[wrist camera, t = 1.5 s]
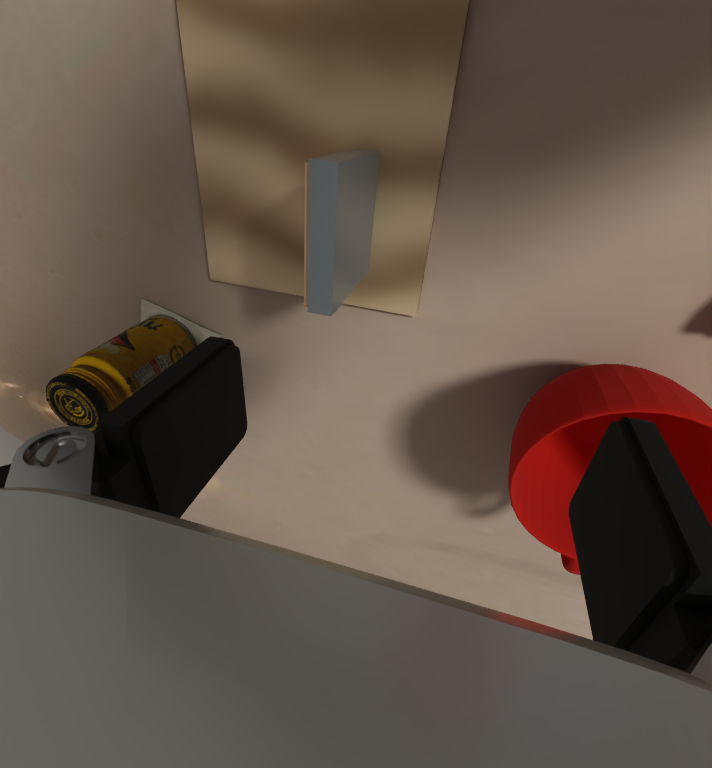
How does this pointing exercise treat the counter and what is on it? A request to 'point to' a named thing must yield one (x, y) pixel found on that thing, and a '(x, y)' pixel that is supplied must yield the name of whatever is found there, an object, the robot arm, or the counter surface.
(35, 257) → the counter surface
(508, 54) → the counter surface
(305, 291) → the slate tile
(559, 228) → the counter surface
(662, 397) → the ceramic cup
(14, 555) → the robot arm
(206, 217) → the cork mat
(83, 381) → the condiment
